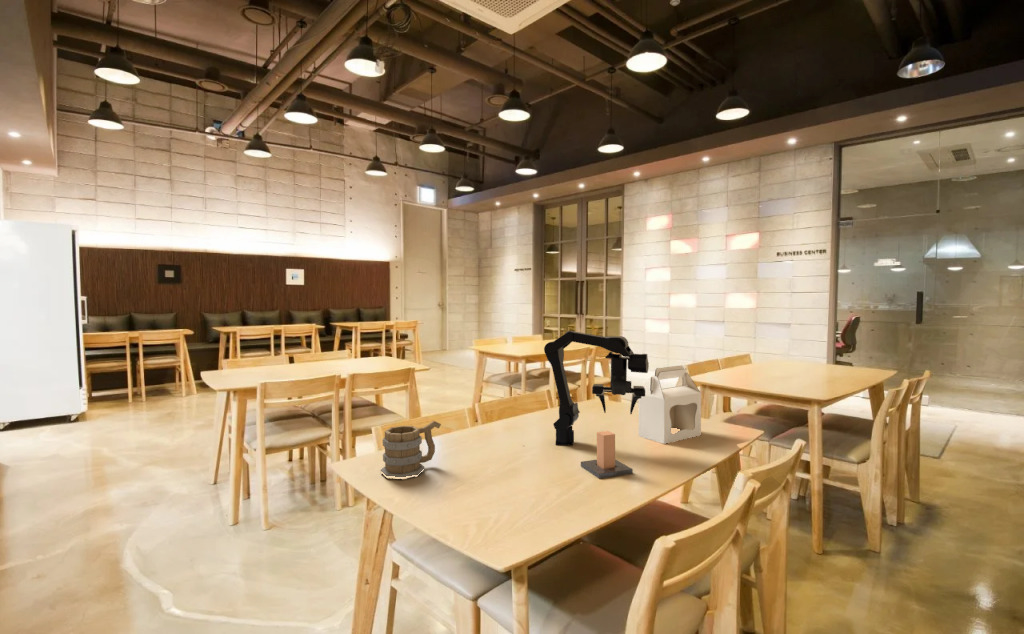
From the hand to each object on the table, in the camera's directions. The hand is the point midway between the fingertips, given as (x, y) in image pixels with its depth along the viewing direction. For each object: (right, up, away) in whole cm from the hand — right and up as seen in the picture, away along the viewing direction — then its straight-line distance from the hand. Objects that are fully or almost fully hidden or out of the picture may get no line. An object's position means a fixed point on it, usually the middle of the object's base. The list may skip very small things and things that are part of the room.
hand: (617, 413), depth 175 cm
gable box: (+25, -13, +17) cm, 33 cm away
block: (-8, -14, -21) cm, 26 cm away
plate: (-8, -14, -21) cm, 26 cm away
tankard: (-71, -15, -19) cm, 75 cm away
